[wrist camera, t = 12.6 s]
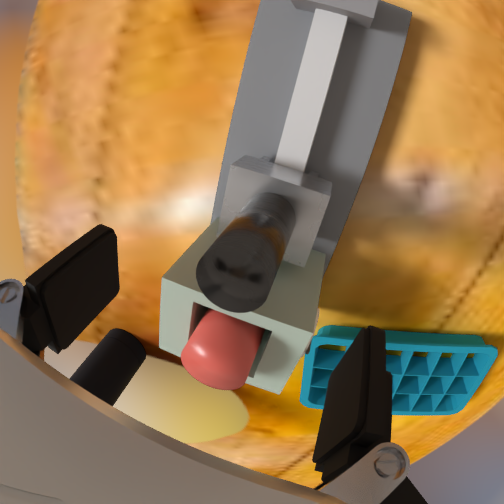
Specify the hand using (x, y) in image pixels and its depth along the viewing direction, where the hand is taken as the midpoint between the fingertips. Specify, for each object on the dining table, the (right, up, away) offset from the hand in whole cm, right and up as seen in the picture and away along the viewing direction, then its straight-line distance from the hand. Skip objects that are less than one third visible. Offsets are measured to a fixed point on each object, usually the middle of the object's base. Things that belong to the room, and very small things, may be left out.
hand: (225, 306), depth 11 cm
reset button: (0, -2, +11) cm, 11 cm away
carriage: (+3, +6, +12) cm, 13 cm away
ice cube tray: (+17, -10, +19) cm, 27 cm away
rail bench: (+4, +9, +12) cm, 15 cm away
